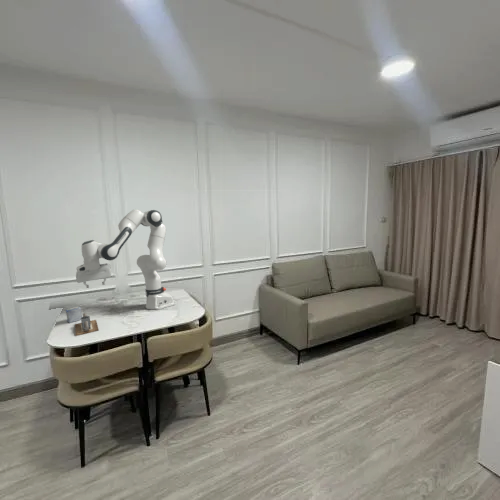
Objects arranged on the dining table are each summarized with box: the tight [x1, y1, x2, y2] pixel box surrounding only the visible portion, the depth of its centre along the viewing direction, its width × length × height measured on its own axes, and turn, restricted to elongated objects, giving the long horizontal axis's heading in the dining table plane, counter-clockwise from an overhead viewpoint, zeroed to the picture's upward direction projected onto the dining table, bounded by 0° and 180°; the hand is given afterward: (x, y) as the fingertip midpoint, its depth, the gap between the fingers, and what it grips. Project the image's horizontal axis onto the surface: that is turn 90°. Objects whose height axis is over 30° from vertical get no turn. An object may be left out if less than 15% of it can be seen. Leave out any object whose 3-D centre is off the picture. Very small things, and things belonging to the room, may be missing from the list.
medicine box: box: [65, 306, 83, 324], centre depth 190 cm, size 8×4×9 cm, turn 141°
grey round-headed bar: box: [80, 315, 91, 331], centre depth 177 cm, size 5×12×5 cm, turn 32°
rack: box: [74, 312, 99, 337], centre depth 177 cm, size 12×19×7 cm, turn 32°
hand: (95, 286), depth 185 cm, fingers open, 8 cm apart
